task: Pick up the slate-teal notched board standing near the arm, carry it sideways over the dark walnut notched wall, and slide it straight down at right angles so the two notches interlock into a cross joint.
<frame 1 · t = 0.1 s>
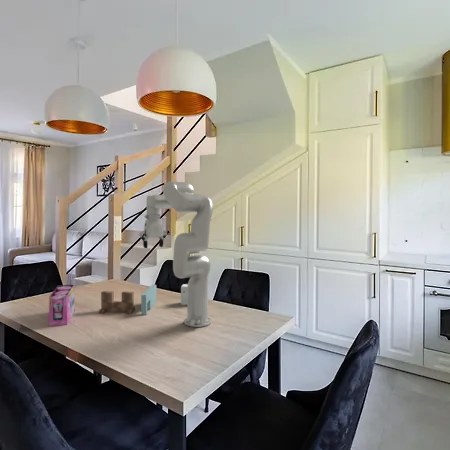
hand: (153, 247, 185), 31 cm above the table, tool pointing down, fingers open, 9 cm apart
gum box: (62, 318, 157), on the table
notched wall: (117, 311, 167), on the table
small box: (188, 304, 182), on the table
notched board: (149, 308, 173), on the table
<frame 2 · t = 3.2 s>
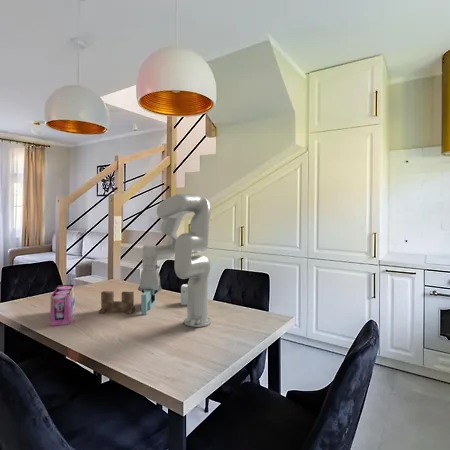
hand: (149, 301, 174), 3 cm above the table, tool pointing down, fingers closed on notched board, 2 cm apart
notched board: (149, 308, 173), on the table, touching gripper
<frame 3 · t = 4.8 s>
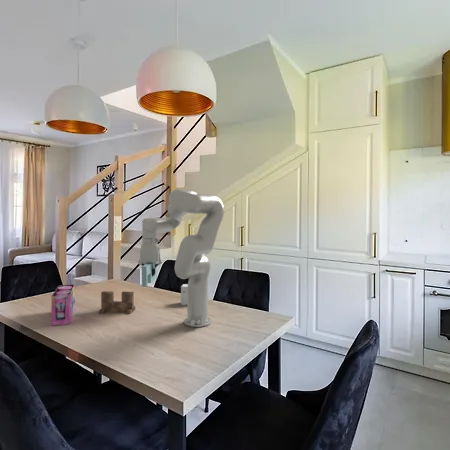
hand: (150, 275, 173), 17 cm above the table, tool pointing down, fingers closed on notched board, 2 cm apart
notched board: (149, 282, 172), point 14 cm above the table, touching gripper
everything else where it was.
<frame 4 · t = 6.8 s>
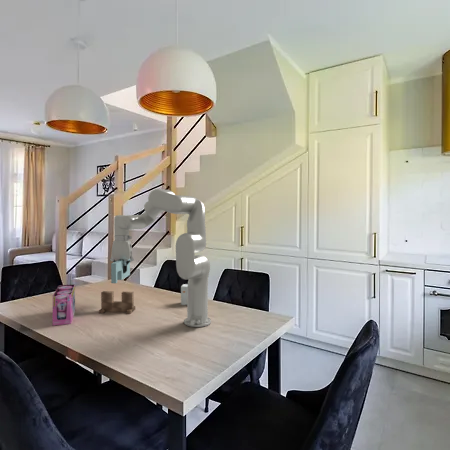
hand: (121, 272, 173), 19 cm above the table, tool pointing down, fingers closed on notched board, 2 cm apart
notched board: (121, 278, 172), point 16 cm above the table, touching gripper
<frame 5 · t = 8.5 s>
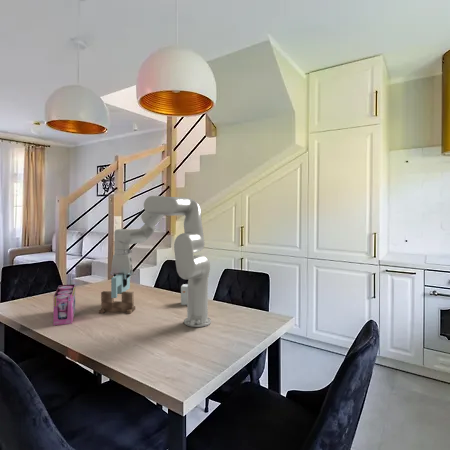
hand: (121, 286, 174), 11 cm above the table, tool pointing down, fingers closed on notched board, 2 cm apart
notched board: (121, 292, 173), point 8 cm above the table, touching gripper
when the fingers open (5 cm above the table, at t = 10.1 s): notched board drops 1 cm, on the table.
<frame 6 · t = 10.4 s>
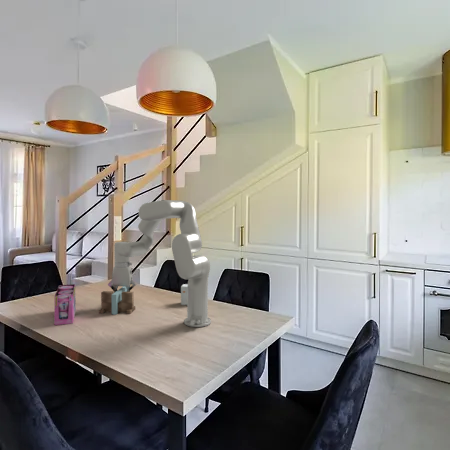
hand: (122, 297, 174), 5 cm above the table, tool pointing down, fingers open, 5 cm apart
notched board: (121, 307, 173), on the table
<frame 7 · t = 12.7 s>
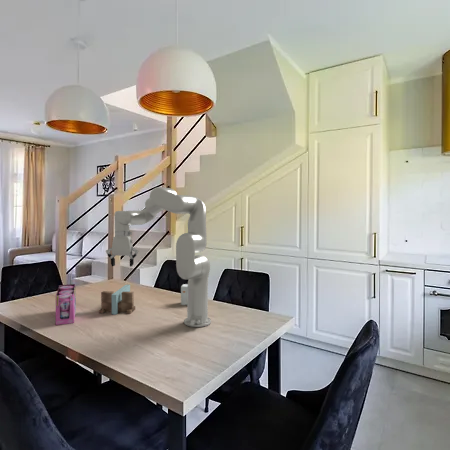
hand: (122, 266, 173), 22 cm above the table, tool pointing down, fingers open, 9 cm apart
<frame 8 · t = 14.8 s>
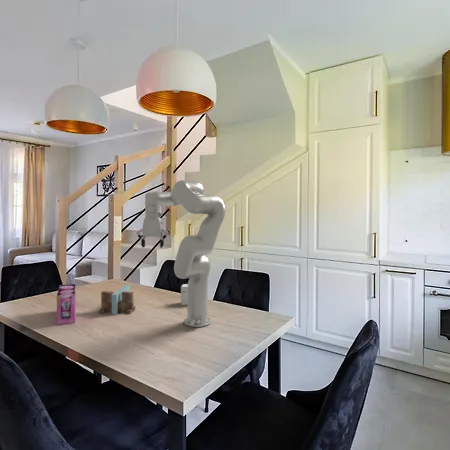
hand: (152, 247, 174), 32 cm above the table, tool pointing down, fingers open, 9 cm apart
at the end: notched board 0.3 cm from the target spot on the table beside the notched wall, on the table; notched board tilted 0°; the gripper is holding nothing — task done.
